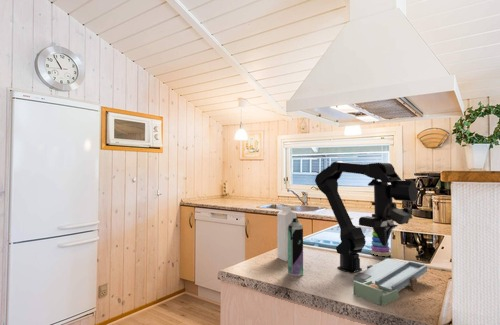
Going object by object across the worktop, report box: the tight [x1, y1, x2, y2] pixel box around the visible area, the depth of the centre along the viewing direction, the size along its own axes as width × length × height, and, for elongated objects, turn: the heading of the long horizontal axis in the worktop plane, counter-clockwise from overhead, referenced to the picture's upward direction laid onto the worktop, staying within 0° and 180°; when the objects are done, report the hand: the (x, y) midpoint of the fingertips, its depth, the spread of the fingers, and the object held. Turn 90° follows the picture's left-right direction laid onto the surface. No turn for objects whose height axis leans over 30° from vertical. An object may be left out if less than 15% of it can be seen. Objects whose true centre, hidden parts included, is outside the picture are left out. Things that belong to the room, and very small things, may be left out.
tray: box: [352, 280, 400, 307], centre depth 88 cm, size 9×8×4 cm
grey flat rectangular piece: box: [353, 257, 428, 292], centre depth 100 cm, size 14×20×2 cm
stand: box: [366, 264, 418, 292], centre depth 100 cm, size 16×2×3 cm, turn 34°
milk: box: [276, 205, 298, 262], centre depth 127 cm, size 6×6×22 cm
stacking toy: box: [370, 212, 391, 257], centre depth 133 cm, size 8×8×19 cm
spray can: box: [287, 217, 304, 277], centre depth 109 cm, size 6×6×20 cm
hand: (384, 245), depth 102 cm, fingers closed
